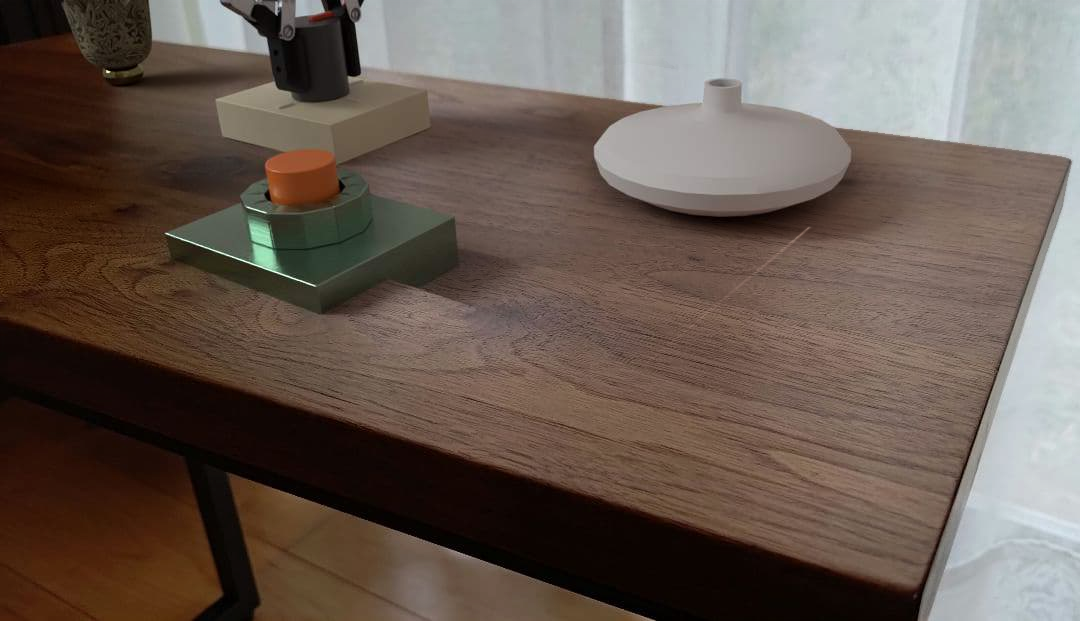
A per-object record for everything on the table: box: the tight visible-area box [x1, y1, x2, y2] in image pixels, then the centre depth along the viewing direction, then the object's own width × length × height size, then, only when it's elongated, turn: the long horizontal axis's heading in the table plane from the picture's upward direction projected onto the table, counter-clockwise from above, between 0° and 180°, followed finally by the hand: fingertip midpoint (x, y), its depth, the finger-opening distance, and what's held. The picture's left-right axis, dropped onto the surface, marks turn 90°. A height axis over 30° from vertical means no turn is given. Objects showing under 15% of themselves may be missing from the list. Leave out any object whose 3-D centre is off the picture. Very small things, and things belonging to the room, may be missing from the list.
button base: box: [164, 168, 460, 315], centre depth 54 cm, size 12×10×5 cm
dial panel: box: [215, 76, 432, 166], centre depth 77 cm, size 13×10×3 cm
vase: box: [593, 77, 852, 218], centre depth 62 cm, size 16×16×7 cm
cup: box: [61, 0, 153, 86], centre depth 92 cm, size 8×7×8 cm
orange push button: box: [264, 149, 340, 205], centre depth 52 cm, size 4×4×2 cm
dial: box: [291, 11, 350, 102], centre depth 75 cm, size 4×4×6 cm
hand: (319, 79), depth 76 cm, fingers closed on dial, 4 cm apart
